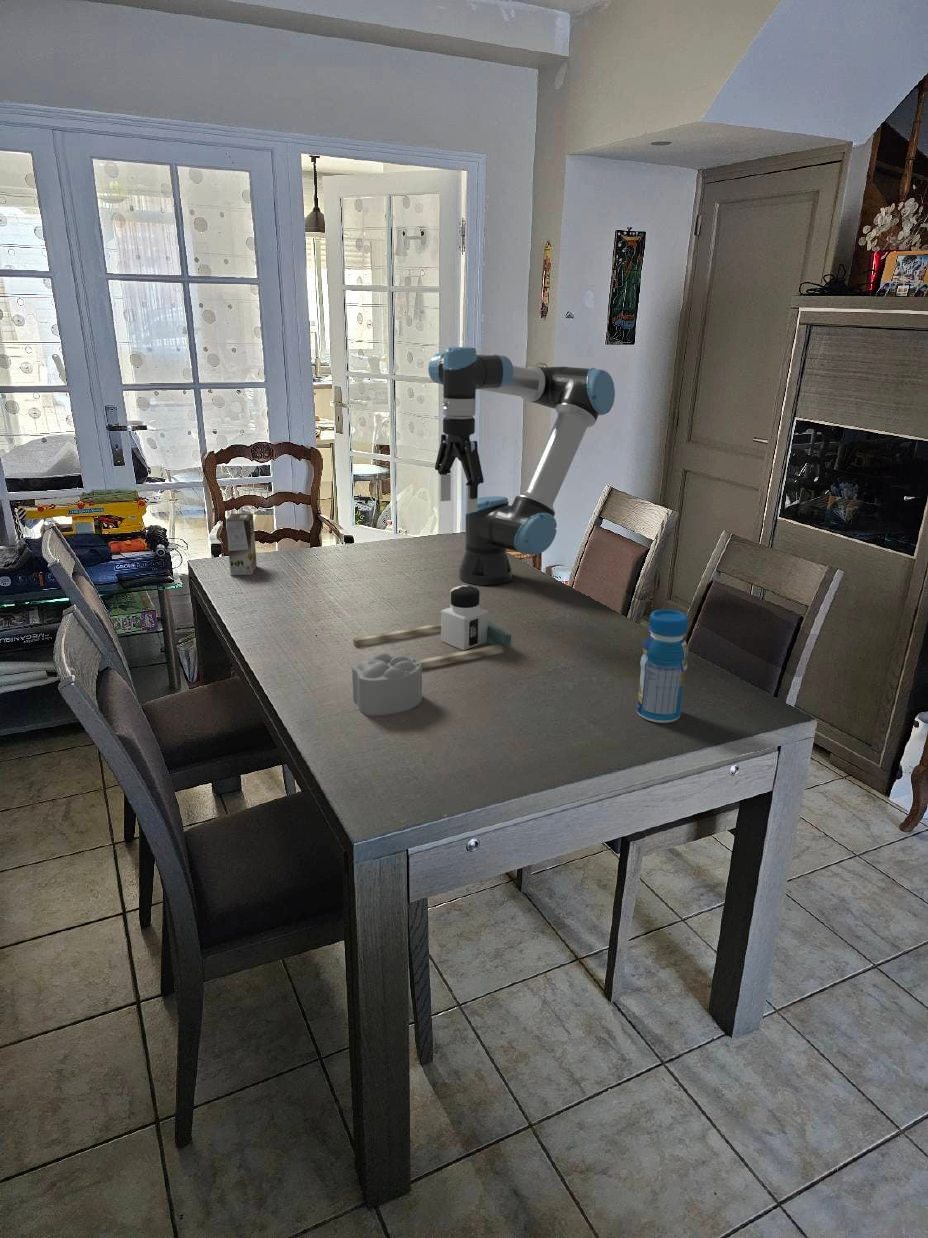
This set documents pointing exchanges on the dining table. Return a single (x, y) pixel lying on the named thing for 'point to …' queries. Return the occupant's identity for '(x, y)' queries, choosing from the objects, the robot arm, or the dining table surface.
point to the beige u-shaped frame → (494, 637)
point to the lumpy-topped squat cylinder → (386, 684)
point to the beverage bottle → (663, 667)
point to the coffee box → (241, 544)
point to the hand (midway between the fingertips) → (457, 506)
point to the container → (464, 619)
